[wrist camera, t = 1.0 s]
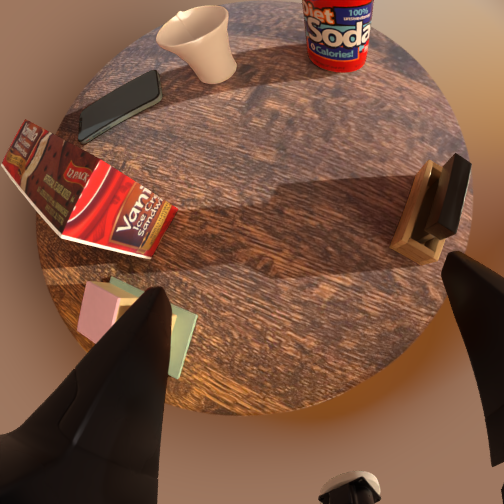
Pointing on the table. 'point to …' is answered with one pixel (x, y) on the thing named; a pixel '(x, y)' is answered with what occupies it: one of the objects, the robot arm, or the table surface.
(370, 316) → the table surface
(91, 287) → the cake
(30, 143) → the ice cream box
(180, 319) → the cake plate
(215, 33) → the cup
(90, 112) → the smartphone
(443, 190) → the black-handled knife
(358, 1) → the soda can
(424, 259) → the knife holder
